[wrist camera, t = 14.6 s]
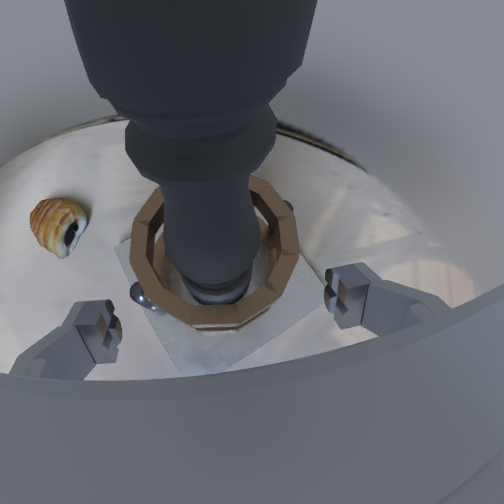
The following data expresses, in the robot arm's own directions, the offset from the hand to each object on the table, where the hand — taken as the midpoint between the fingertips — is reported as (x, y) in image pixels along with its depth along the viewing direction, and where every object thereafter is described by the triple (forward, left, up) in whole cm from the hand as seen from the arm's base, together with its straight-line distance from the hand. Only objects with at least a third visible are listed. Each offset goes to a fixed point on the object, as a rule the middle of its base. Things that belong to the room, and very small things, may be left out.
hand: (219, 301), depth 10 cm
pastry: (-12, +21, -17) cm, 29 cm away
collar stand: (+2, +5, -17) cm, 18 cm away
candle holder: (+2, +5, -16) cm, 16 cm away
